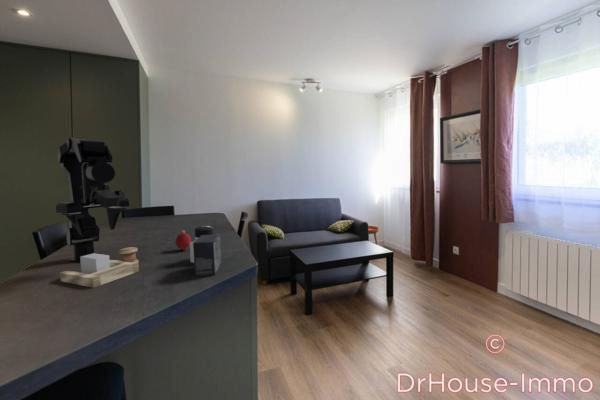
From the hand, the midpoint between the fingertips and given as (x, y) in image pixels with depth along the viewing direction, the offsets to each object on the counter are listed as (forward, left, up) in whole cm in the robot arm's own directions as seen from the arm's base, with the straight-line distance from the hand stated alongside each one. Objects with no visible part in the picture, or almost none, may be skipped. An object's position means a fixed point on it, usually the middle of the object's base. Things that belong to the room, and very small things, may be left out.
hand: (97, 232), depth 90 cm
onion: (+6, +29, -13) cm, 32 cm away
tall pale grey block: (+2, -2, -13) cm, 13 cm away
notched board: (+4, -2, -13) cm, 13 cm away
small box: (+31, +13, -13) cm, 36 cm away
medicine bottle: (+23, +21, -13) cm, 34 cm away
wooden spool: (+1, +9, -13) cm, 16 cm away
